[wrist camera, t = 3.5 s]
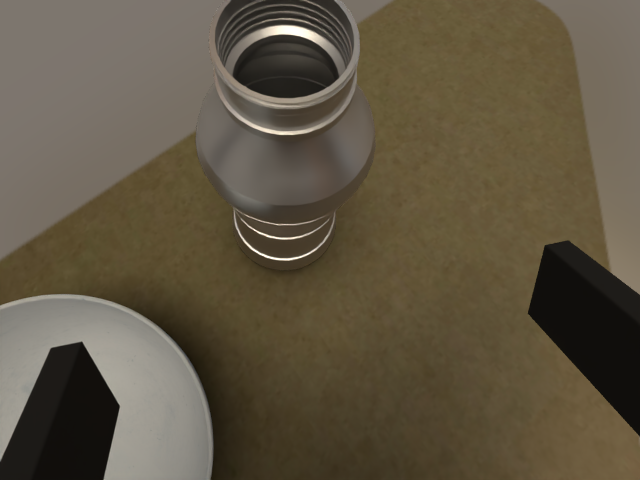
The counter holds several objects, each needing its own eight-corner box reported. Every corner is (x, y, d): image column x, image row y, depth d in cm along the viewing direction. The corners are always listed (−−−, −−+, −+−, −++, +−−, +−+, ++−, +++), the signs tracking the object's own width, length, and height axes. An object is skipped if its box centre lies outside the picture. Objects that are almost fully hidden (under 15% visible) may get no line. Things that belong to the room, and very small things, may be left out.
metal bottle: (233, 191, 30) (136, -70, 10) (327, 184, 31) (400, -73, 11) (240, 280, 29) (143, 173, 9) (337, 270, 29) (440, 152, 10)
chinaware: (145, 259, 28) (95, 233, 21) (280, 441, 27) (278, 485, 19) (-65, 407, 26) (-212, 440, 18) (70, 623, 24) (-29, 759, 16)
